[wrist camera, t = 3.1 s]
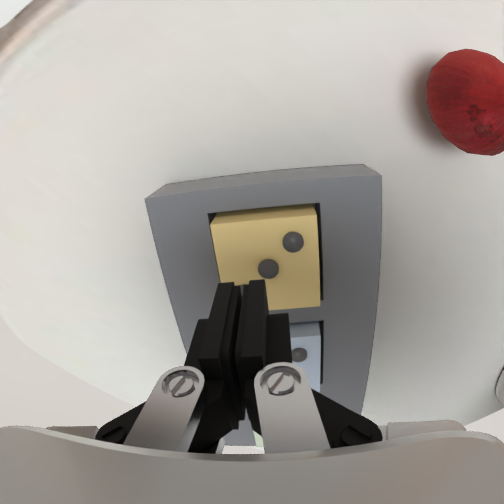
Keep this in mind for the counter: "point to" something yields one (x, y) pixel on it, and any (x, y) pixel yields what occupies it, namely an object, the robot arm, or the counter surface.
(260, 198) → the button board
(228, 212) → the tile three
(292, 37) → the counter surface
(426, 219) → the counter surface
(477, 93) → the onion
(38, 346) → the counter surface
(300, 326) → the tile two
